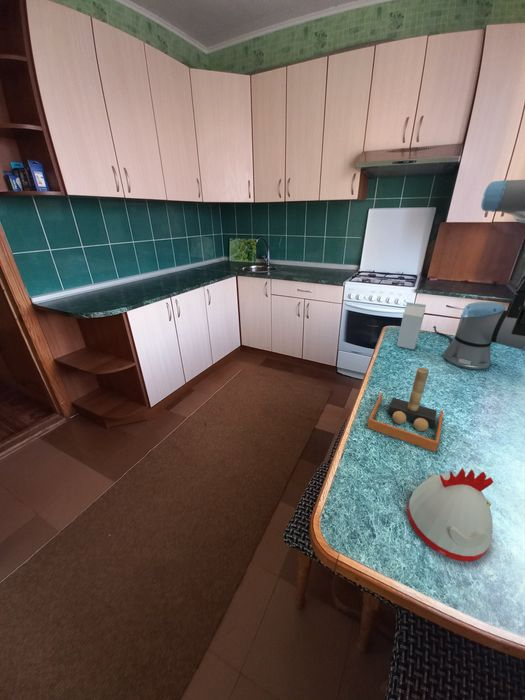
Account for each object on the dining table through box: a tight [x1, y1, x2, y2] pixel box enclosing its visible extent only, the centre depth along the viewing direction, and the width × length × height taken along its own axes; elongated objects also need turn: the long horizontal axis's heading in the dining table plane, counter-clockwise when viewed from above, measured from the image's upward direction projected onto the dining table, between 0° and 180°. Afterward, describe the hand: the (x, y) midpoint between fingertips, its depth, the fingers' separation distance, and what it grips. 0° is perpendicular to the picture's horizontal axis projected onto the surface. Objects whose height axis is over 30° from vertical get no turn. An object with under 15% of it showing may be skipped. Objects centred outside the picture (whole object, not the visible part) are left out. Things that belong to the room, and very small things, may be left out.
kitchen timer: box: [406, 467, 494, 562], centre depth 54 cm, size 14×14×15 cm
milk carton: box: [396, 301, 427, 350], centre depth 123 cm, size 7×7×19 cm
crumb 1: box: [392, 411, 407, 425], centre depth 83 cm, size 4×4×4 cm
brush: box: [387, 367, 438, 429], centre depth 82 cm, size 5×12×16 cm, turn 57°
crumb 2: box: [413, 418, 429, 432], centre depth 80 cm, size 4×4×4 cm
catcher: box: [366, 392, 444, 453], centre depth 83 cm, size 15×17×3 cm
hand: (515, 325), depth 78 cm, fingers open, 13 cm apart
